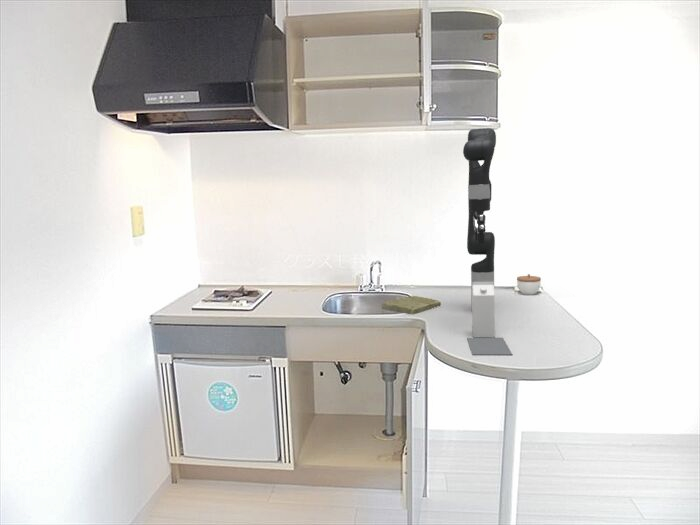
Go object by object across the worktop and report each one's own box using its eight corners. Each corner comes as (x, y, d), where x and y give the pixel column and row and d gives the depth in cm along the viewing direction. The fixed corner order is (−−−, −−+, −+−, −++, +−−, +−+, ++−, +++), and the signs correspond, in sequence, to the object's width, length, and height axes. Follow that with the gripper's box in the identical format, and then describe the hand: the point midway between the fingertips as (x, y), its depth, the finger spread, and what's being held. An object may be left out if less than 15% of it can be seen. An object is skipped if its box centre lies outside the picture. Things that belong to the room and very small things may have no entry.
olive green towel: (441, 307, 228) (441, 299, 227) (412, 316, 214) (412, 307, 213) (408, 301, 241) (408, 294, 240) (379, 309, 227) (379, 301, 227)
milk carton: (472, 332, 185) (471, 280, 182) (492, 332, 183) (492, 279, 181) (473, 337, 178) (473, 283, 175) (494, 337, 176) (494, 283, 174)
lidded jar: (519, 296, 241) (519, 276, 240) (515, 291, 252) (515, 272, 250) (543, 295, 240) (543, 276, 238) (537, 291, 250) (537, 272, 249)
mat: (467, 338, 177) (466, 337, 177) (502, 338, 175) (502, 337, 175) (472, 355, 159) (472, 354, 159) (512, 355, 158) (512, 354, 158)
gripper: (466, 197, 191) (467, 240, 193) (470, 198, 177) (470, 245, 179) (487, 196, 190) (487, 240, 192) (492, 197, 176) (492, 244, 178)
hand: (479, 242), depth 186 cm, fingers open, 8 cm apart
